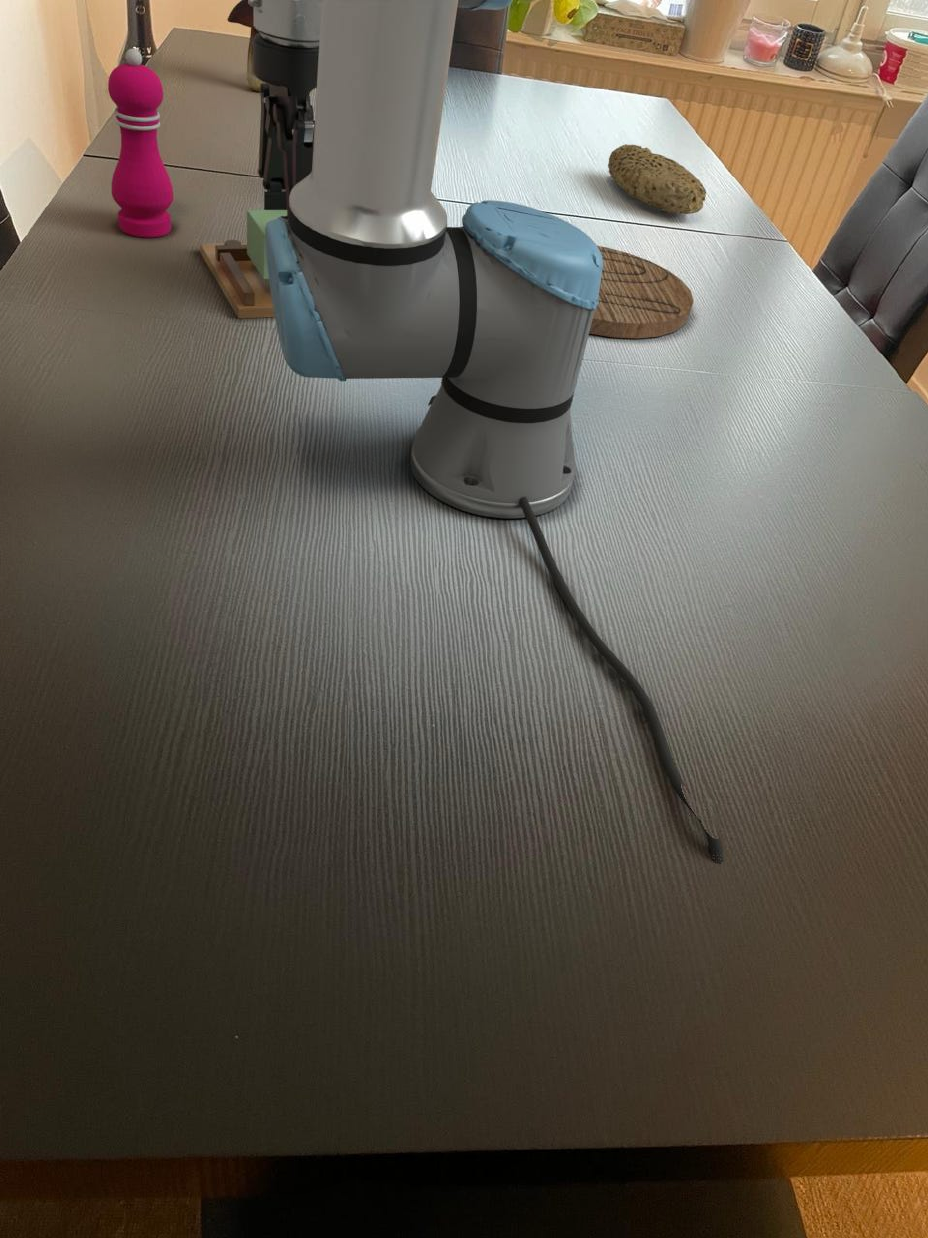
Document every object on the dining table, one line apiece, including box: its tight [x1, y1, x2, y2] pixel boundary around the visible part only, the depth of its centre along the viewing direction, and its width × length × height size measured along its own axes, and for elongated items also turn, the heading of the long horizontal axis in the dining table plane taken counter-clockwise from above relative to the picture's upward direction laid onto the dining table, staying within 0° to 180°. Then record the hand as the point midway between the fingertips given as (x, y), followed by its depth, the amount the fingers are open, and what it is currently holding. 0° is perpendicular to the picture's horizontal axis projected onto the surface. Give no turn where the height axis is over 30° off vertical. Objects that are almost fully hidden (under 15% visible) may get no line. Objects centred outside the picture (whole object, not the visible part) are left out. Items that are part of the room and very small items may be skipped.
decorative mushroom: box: [226, 0, 265, 92], centre depth 172 cm, size 11×11×15 cm
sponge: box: [607, 143, 707, 215], centre depth 159 cm, size 13×8×20 cm
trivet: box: [589, 245, 695, 339], centre depth 127 cm, size 25×25×2 cm
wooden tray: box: [199, 239, 275, 320], centre depth 116 cm, size 18×14×3 cm
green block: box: [246, 209, 287, 279], centre depth 111 cm, size 7×7×5 cm
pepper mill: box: [107, 48, 174, 239], centre depth 117 cm, size 7×7×20 cm
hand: (285, 262), depth 113 cm, fingers closed on green block, 7 cm apart
